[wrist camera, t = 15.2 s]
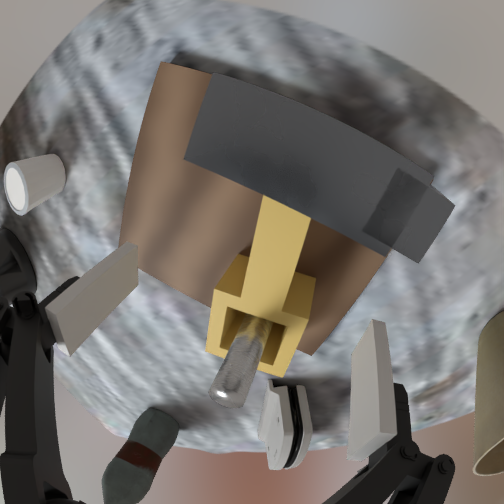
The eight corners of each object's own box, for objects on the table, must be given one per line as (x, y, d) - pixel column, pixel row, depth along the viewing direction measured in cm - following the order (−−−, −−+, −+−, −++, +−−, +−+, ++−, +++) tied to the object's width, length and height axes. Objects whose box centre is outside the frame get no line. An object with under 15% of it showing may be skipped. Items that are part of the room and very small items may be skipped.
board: (124, 250, 33) (117, 255, 32) (169, 63, 22) (160, 61, 21) (313, 346, 32) (311, 355, 31) (428, 175, 21) (433, 179, 19)
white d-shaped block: (268, 377, 37) (278, 442, 28) (302, 375, 37) (318, 438, 28) (257, 431, 44) (262, 480, 36) (283, 429, 45) (291, 478, 36)
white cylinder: (63, 144, 29) (20, 157, 23) (73, 194, 32) (33, 214, 26) (37, 154, 31) (-1, 168, 25) (46, 199, 34) (10, 217, 28)
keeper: (259, 135, 23) (183, 159, 12) (277, 93, 21) (213, 71, 10) (377, 192, 23) (411, 272, 11) (398, 152, 21) (461, 195, 9)
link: (264, 123, 22) (241, 126, 16) (358, 149, 20) (366, 160, 15) (226, 313, 31) (205, 351, 26) (293, 335, 30) (282, 377, 25)
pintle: (256, 290, 31) (204, 397, 19) (265, 272, 29) (214, 381, 17) (278, 301, 30) (237, 412, 18) (288, 283, 29) (249, 397, 17)
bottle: (180, 435, 55) (124, 539, 29) (144, 418, 56) (83, 515, 30) (183, 420, 50) (118, 539, 24) (143, 400, 51) (71, 511, 25)
